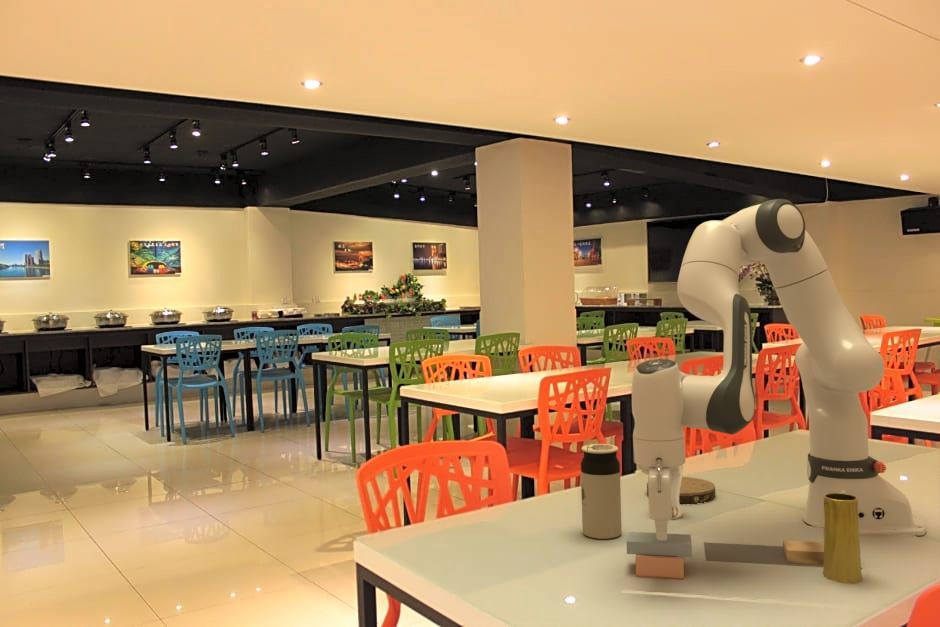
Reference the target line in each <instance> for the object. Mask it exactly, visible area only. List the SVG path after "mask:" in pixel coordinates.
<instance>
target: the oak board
mask: <svg viewBox="0 0 940 627" xmlns="http://www.w3.org/2000/svg"><path fill="white" fill-rule="evenodd" d="M782 546H783V553H784V556H785V558H786V560H787V562H788V563H806V564H823V558H824V541H823V542H822V541H806V540H805V541H801V540H782Z"/></svg>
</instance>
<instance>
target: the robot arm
mask: <svg viewBox="0 0 940 627" xmlns="http://www.w3.org/2000/svg"><path fill="white" fill-rule="evenodd" d="M760 262H762V263H764V265H765V266H766V269H767V272H768V275H769V279H770V280H771V284H772V286H773V288H774V291H775V293H776V296H777V297H778V299H779V303H780V305H781V307H782V309H783V310H782V311H783V313H784V314H785V317H786V319H787V321H788V323H789V324H790V325H791V326H792V327H793V329H794V330H795V331H796V333H797V334H798V336H799V337H800V338H801V340H802V343H801V344H800V345H799V347H798V348H797V350H796V353H795V365H796V368H797V370H798V372H799V374H800V380H801V383H802V389H803V394H804V398H805V403H806V408H807V414H808V424H809V425H808V426H809V427H808V428H809V452H808V454H807V460H806V461H807V462H806V466H807V468H806V472H807V478H808V481H809V482H808V491H807V492H808V493H807V500H806V505H805V509H804V513H803V516H802V520H803V521H804V523H806V524H808V525H810V526H811V527H819V528H823V529H824V494H827V493H847V494H852V495H855V496H857V498H858V523H859V535H911V534H912V535H913V534H914V535H915V536H919V537H920V536H924V535H925V534H926V533H927V529H926V525H925V523H924V522H923V521H922V520H921V519H920V518H918V517H916V515H913V510H912V506H911V503H910V500H909V499H908V497H907V496H906V494H904V493H903V492H902V491H900V490H899V489H898V488H897V487H895V486H894V485H893V484H892V483H890V481H887V479H884V478H883V477H882V476H881V475H879V474H883V473H886V471H887V466H886V465H885V463H883V462H882V461H879V460H877V459H875V458H873V457H871V456H870V455H869V421H868V417H867V415H866V413H865V411H864V408H863V407H862V403H861V400H860V396H859V393H863V392H868V391H871V390H873V389H875V388H876V387H877V386H878V385H879V384H880V383H881V381H882V380H883V378H884V374H885V371H886V370H885V369H886V368H885V367H886V366H885V361H884V358H883V356H882V355H881V354H880V352H879V351H878V350H877V349H876V348H875V347H874V346H873V345H872V343H870V342H869V340H868V339H867V337H866V336H865V333H863V331H862V329H861V327H860V326H859V325H858V323H857V322H856V320H855V319H854V317H853V316H852V315H851V313H850V311H849V310H848V308H847V306H846V305H845V303H844V301H843V299H842V297H841V295H840V293H839V290H838V288H837V286H836V283H835V281H834V279H833V277H832V274H831V272H830V270H829V267H828V265H827V263H826V260H825V259H824V257H823V254H822V253H821V251H820V249H819V248H818V245H817V244H816V242H815V241H814V240H813V238H812V237H811V235H810V233H809V232H808V231H807V230H806V223H805V219H804V216H803V213H802V211H801V210H800V209H799V208H798V206H796V205H795V204H794V203H792V202H791V201H790V200H789V199H784V198H777V199H776V198H775V199H770V200H766V201H764V202H762V203H760V204H759V203H758V204H756V205H755V204H754V205H751V206H749V207H746V208H742V209H740V210H739V211H738V212H736V213H734V214H731V215H730V216H728V217H726V218H724V219H721V220H716V219H715V220H713V219H712V220H708V221H704V222H702V223H701V224H698V226H696V228H695V229H694V231H693V233H692V235H691V237H690V239H689V241H688V244H687V246H686V248H685V252H684V255H683V257H682V262H681V266H680V270H679V274H678V277H677V278H678V279H677V284H676V285H677V286H676V290H677V291H676V293H677V297H678V299H679V301H680V303H681V304H682V306H683V307H684V308H685V310H687V312H689V313H690V314H692V315H694V316H695V317H696V318H698V319H700V320H703V321H705V322H708V323H710V324H713V325H715V326H717V327H719V328H721V329H722V332H723V363H722V364H723V367H722V371H721V372H720V373H719V374H718V375H696V374H688V373H684V372H683V371H680V368H679V365H678V363H677V362H676V361H675V360H672V359H667V358H659V359H652V360H646V361H643V362H641V363H639V364H638V365H636V367H635V369H634V371H633V376H632V382H631V383H632V385H631V386H632V387H631V413H632V416H633V419H634V428H633V434H632V442H633V443H632V444H633V445H632V446H633V462H634V464H636V465H638V466H641V472H642V473H643V474H645V475H648V477H647V483H648V493H649V497H648V513H649V514H648V515H649V518H650V519H651V520H653V521H654V526H655V531H656V532H655V533H656V537H657V539H658V540H667V534H668V523H669V522H668V521H670V520H672V519H671V518H672V492H671V487H672V478H673V474H676V473H677V472H678V466H680V465H685V463H686V447H685V446H686V443H685V439H686V438H685V432H684V429H683V427H685V428H689V429H690V428H691V429H698V430H700V429H701V430H708V431H710V430H711V431H713V432H717V433H722V434H726V435H735V434H737V433H740V432H741V431H743V429H744V428H747V426H748V425H749V424H750V423H751V422H752V421H753V419H754V416H755V409H756V408H755V407H756V405H755V404H756V402H755V394H754V385H753V328H752V327H753V324H752V314H751V308H750V305H749V302H748V300H747V299H746V298H745V297H744V296H743V295H740V291H739V280H740V274H741V273H740V272H741V267H743V266H749V265H754V264H757V263H760Z"/></svg>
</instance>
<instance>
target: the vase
mask: <svg viewBox="0 0 940 627" xmlns="http://www.w3.org/2000/svg"><path fill="white" fill-rule="evenodd" d="M823 542H824V558H823V567H822V569H823V570H822V575H823V578H826V579H827V580H830V581H833V582H836V583H841V584H854V583H855V584H858V583H860V582H861V581H863V577H862V576H863V575H862V569H861V568H862V561H861V560H862V559H861V545H860V544H861V543H860V542H861V541H860V534H859V523H858V498H857V496H855V495H852V494H847V493H827V494H824V528H823Z"/></svg>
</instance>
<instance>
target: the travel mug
mask: <svg viewBox="0 0 940 627" xmlns="http://www.w3.org/2000/svg"><path fill="white" fill-rule="evenodd" d="M581 451H582V453H583V454H582V455H583V458H582V460H581V461H580V484H581V485H580V487H581V491H580V492H581V518H582V519H581V522H582V524H581V525H582V534H583V535H584V536H587V537H588V538H591V539H595V538H596V540H611V539H615V538H617V537H620V536H621V535H622V528H623V527H622V498H621V496H622V495H621V494H622V493H621V489H622V488H621V463H620V461H619V459H618V458H617V453H618V451H619V447H618V446H617V445H614V444H608V443H592V444H591V443H590V444H586V445H583V446H581Z"/></svg>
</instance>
